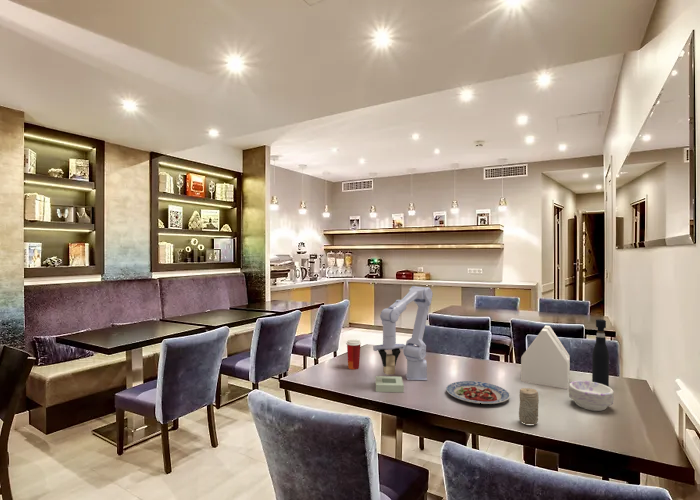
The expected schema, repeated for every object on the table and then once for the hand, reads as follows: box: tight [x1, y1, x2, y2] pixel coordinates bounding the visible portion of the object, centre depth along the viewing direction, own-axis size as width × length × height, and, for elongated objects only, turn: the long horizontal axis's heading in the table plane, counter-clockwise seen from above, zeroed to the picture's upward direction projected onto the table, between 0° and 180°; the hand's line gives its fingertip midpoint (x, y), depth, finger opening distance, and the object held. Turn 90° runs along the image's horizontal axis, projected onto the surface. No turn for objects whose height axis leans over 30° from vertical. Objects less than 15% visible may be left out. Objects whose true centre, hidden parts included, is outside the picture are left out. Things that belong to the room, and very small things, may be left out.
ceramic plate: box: [445, 380, 511, 405], centre depth 169 cm, size 26×26×3 cm
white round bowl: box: [568, 380, 615, 412], centre depth 158 cm, size 15×15×8 cm
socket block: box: [374, 375, 405, 393], centre depth 178 cm, size 12×12×3 cm
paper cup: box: [345, 339, 362, 371], centre depth 207 cm, size 8×8×14 cm
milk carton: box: [520, 325, 571, 390], centre depth 189 cm, size 19×15×25 cm
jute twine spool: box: [518, 387, 540, 425], centre depth 142 cm, size 6×8×12 cm
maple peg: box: [382, 353, 396, 376], centre depth 178 cm, size 4×4×8 cm
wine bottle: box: [591, 319, 610, 387], centre depth 182 cm, size 6×6×30 cm
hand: (389, 365), depth 178 cm, fingers closed on maple peg, 4 cm apart
